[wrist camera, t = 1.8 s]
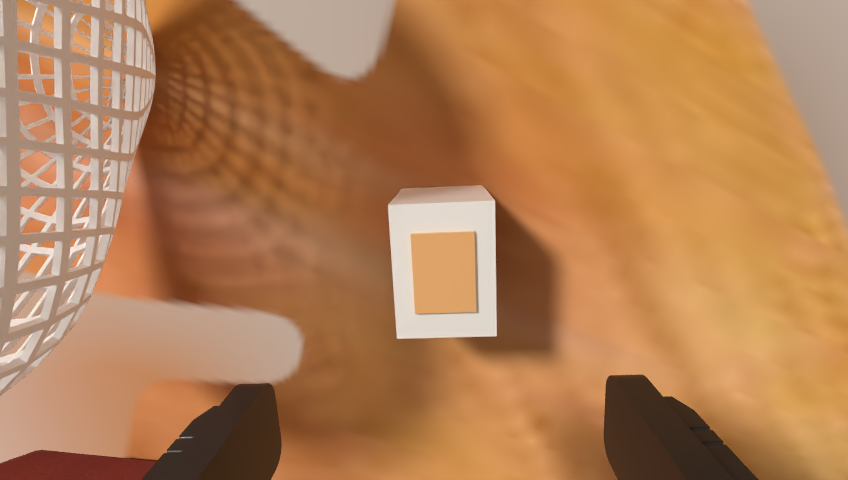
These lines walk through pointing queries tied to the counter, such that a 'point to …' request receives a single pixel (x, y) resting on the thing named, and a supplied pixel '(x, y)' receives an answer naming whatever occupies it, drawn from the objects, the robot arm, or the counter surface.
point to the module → (443, 262)
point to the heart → (65, 164)
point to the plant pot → (72, 467)
